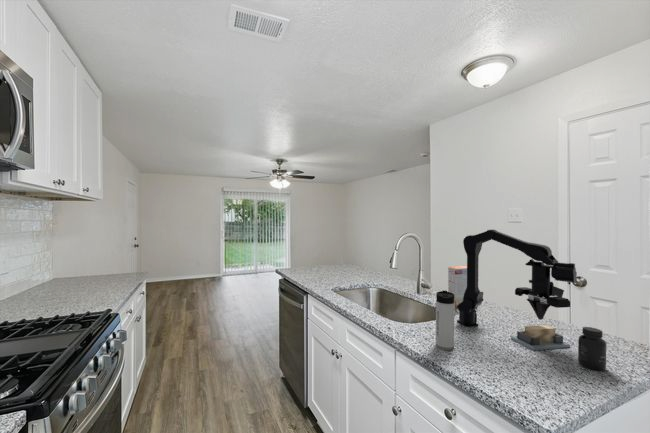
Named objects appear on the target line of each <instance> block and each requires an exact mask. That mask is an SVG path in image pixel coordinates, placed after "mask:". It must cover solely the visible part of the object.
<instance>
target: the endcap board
mask: <svg viewBox="0 0 650 433" xmlns="http://www.w3.org/2000/svg"><path fill="white" fill-rule="evenodd" d="M516 333H517V334H516V335H515V336H511V337H510V339H511V341H514V342H516V343H518V344H520V345H522V346H523V347H525V348H527V349H529V350H532V351H542V350H553V349H554V350H555V349H556V350H557V349H566V348H570V347H571V344H570V343H567V342H566V341H564V336H563V335H561V334H558V333H556V332H555V336H554V342H542V343H540V338H538V337H534V338H532V337H530V336H527V335H525V330H524V331H523V330H522V331H521V330H520V331H517V332H516Z"/></svg>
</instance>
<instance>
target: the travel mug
mask: <svg viewBox="0 0 650 433" xmlns="http://www.w3.org/2000/svg"><path fill="white" fill-rule="evenodd" d="M435 296H436V298H435V299H436V300H435V346H436V347H437V349H439V350H442V351H452V350H454V349H455V308H454V294H453V293H451V292H448V290H442V291H441V290H440V291H437V292H436V294H435Z"/></svg>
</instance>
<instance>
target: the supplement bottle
mask: <svg viewBox="0 0 650 433" xmlns="http://www.w3.org/2000/svg"><path fill="white" fill-rule="evenodd" d="M603 333H604V332H603V330H602V329H599V328H595V327H591V326H584V327H583V326H582V334H581V335H578V339H577V340H578V341H577V342H578V344H577V346H578V347H577V362H578V364H579V365H580V366H582V367H584V368H586V369H587V370H590V371H591V370H592V371H597V372H605V370H606V369H607V348H608V346H607V345H608V344H607V342H606V341H605V340H604V339H603Z"/></svg>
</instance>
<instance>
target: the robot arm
mask: <svg viewBox="0 0 650 433" xmlns="http://www.w3.org/2000/svg"><path fill="white" fill-rule="evenodd" d="M462 240H463V241H462V243H463V248H464V252H465V254H466V266H467V288H466V290H465V293H464V297H463V302H461V303H460V304H459V305H457V307H458V308H457V310H458V311H459V314H458V319H457V320H456V322H457V323H459V324H460V325H462V326H464V327H475V326H479V324H478V323H477V321H478V320H477V319H478V314H477V310H478V307H479V306H481V305H482V303H483V302H484V291H480V288H479V255H480V253H481V250H482V246H483V243H486V242H490V241H494V242H497V243H499V244H502V245H505V246H508V247H509V248H513V249H515V250H518V251H520V252H521V253H522V254H524V255H526V256H527V257H529V258H530V259H529V260H528V261H527V262H526V263H525V266H530V267H531V279H528V283H529V284H531V288H530V287H524V286H523V287H521V286H520V287H516V288H515V290H514V295H515V296H519V297H522V296H523V295H525V296H528V297H527V298H526V301H528V302H529V305H530V307H531V308H532V310H533V311H534V313H535V315H536V317H537V319H538V320H540V321H541V320H543V319H544V317H545V315H546V312H547V311H548V309H549V308H550V307H554V308H557V309H558V308H559V309H560V308H571V301H570V299H568V298H567V297H563V295H564V293H565V289H562V288H559V287H557V286H554V283H553V281H551V278H553V279H554V281H558V282H559V281H560V282H563V283H565V282H566V283H572V284H576V282H577V277H578V276H577V275H578V274H577V273H578V272H577V268H576V264H575V263H572V262H571V263H570V262H569V263H568V262H559V261H558V260H557V259H556V258H555V256H554V255H553V252H552V249H551V248H550V247H549V246H547V245H544V244H539V243H536V242H535V243H534V242H528V241H526V240H522V239H520V238H517V237H514V236H511V235H509V234H506V233H503V232H500V231H498V230H496V229H487V230H486V231H482V232H481V233H477V234H473V235H472V234H469V235H466V236H465V237H464V238H463V239H462Z"/></svg>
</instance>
